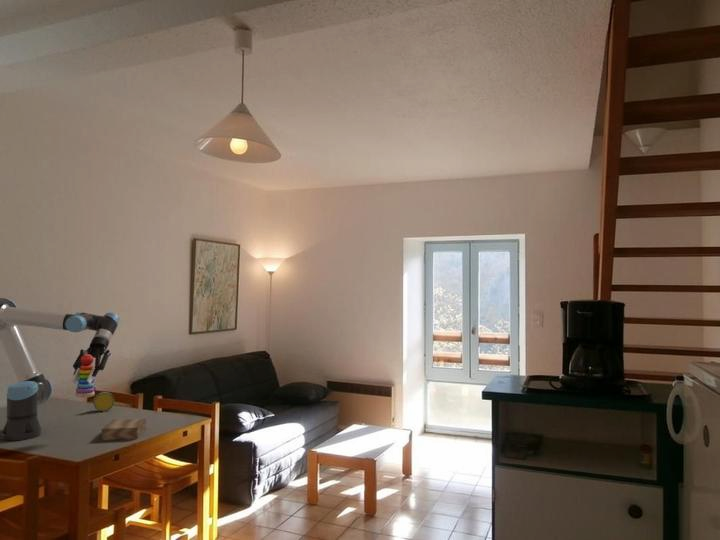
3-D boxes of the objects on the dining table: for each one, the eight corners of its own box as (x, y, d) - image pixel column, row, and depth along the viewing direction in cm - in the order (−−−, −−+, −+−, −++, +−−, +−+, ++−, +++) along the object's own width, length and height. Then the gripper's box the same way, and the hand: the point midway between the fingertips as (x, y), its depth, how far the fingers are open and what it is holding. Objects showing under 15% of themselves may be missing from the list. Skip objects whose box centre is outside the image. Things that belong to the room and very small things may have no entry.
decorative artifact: (93, 412, 276) (93, 393, 276) (92, 410, 282) (92, 391, 282) (114, 410, 281) (114, 391, 281) (112, 407, 287) (112, 389, 287)
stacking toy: (98, 395, 237) (101, 354, 238) (85, 398, 230) (88, 356, 230) (84, 393, 239) (87, 352, 240) (70, 396, 232) (73, 354, 232)
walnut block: (101, 440, 228) (101, 429, 228) (112, 430, 243) (112, 420, 243) (137, 438, 230) (137, 427, 231) (145, 429, 245) (145, 418, 245)
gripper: (123, 346, 250) (105, 387, 233) (84, 345, 251) (63, 386, 234) (118, 336, 245) (99, 377, 228) (78, 335, 245) (56, 376, 229)
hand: (81, 381), depth 231 cm, fingers closed on stacking toy, 6 cm apart
